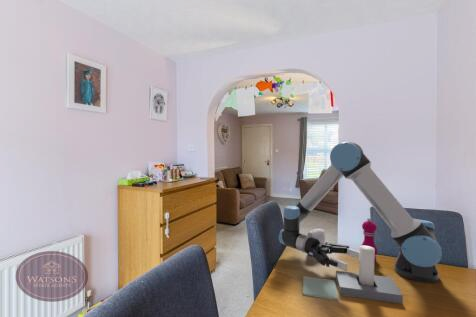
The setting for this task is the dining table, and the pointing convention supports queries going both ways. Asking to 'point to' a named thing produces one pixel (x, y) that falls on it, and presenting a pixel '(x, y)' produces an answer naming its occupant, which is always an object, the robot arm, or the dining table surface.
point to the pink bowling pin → (369, 235)
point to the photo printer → (318, 235)
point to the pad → (319, 288)
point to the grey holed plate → (368, 288)
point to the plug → (366, 266)
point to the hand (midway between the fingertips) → (355, 261)
